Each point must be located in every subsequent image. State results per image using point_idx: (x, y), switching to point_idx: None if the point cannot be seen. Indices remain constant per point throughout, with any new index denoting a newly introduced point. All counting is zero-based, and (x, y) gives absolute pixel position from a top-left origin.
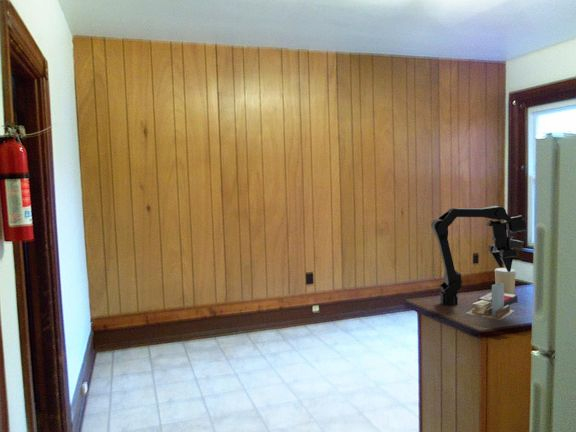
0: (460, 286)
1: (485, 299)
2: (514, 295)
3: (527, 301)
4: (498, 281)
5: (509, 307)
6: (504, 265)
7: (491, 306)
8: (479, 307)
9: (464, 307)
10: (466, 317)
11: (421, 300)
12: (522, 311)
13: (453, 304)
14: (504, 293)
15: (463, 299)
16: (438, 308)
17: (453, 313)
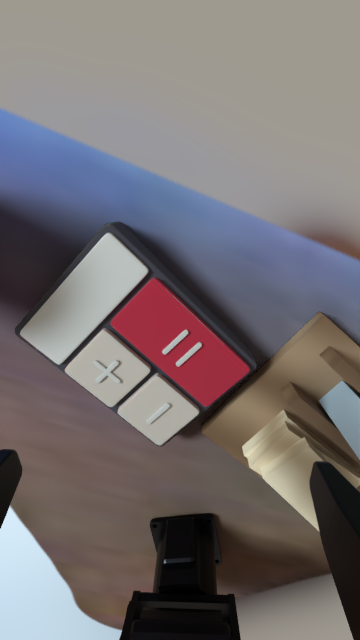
0: (230, 633)
1: (184, 425)
2: (120, 247)
3: (89, 146)
4: None
5: (340, 356)
6: (355, 631)
7: (346, 452)
8: None
9: (201, 489)
10: None
11: (97, 597)
12: (292, 261)
13: (210, 543)
14: (73, 293)
15: (71, 459)
16: None
17: (283, 544)
